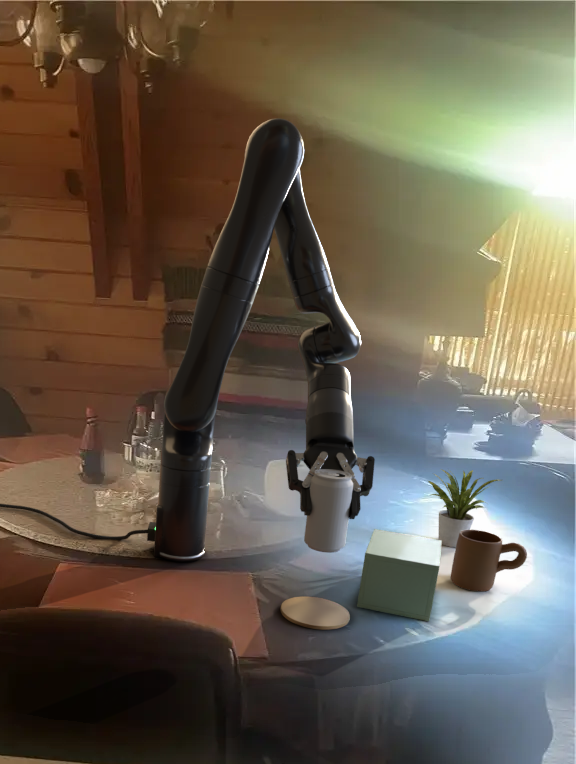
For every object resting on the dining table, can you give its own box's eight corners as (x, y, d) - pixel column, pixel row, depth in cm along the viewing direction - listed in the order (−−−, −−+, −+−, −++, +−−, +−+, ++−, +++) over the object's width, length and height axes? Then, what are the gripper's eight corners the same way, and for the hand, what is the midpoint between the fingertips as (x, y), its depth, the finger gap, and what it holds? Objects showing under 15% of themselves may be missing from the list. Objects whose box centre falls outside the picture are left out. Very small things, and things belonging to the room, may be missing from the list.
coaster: (283, 626, 116) (283, 623, 116) (278, 597, 127) (278, 593, 126) (354, 632, 116) (355, 629, 116) (343, 602, 126) (344, 599, 126)
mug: (517, 585, 140) (527, 537, 137) (520, 600, 133) (531, 550, 130) (449, 573, 143) (458, 526, 140) (449, 587, 136) (458, 538, 133)
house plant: (475, 533, 168) (490, 462, 163) (502, 556, 155) (518, 479, 150) (412, 529, 167) (425, 458, 162) (433, 552, 154) (448, 474, 149)
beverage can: (344, 556, 115) (354, 481, 111) (302, 551, 116) (311, 475, 112) (344, 542, 121) (354, 470, 117) (304, 537, 122) (313, 465, 118)
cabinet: (366, 578, 138) (374, 528, 135) (432, 591, 134) (441, 540, 131) (356, 606, 125) (365, 552, 122) (429, 621, 122) (439, 566, 119)
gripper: (288, 406, 119) (286, 500, 112) (379, 413, 119) (383, 507, 112) (282, 432, 126) (280, 522, 118) (368, 439, 126) (371, 529, 118)
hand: (330, 514), depth 115 cm, fingers closed on beverage can, 6 cm apart
